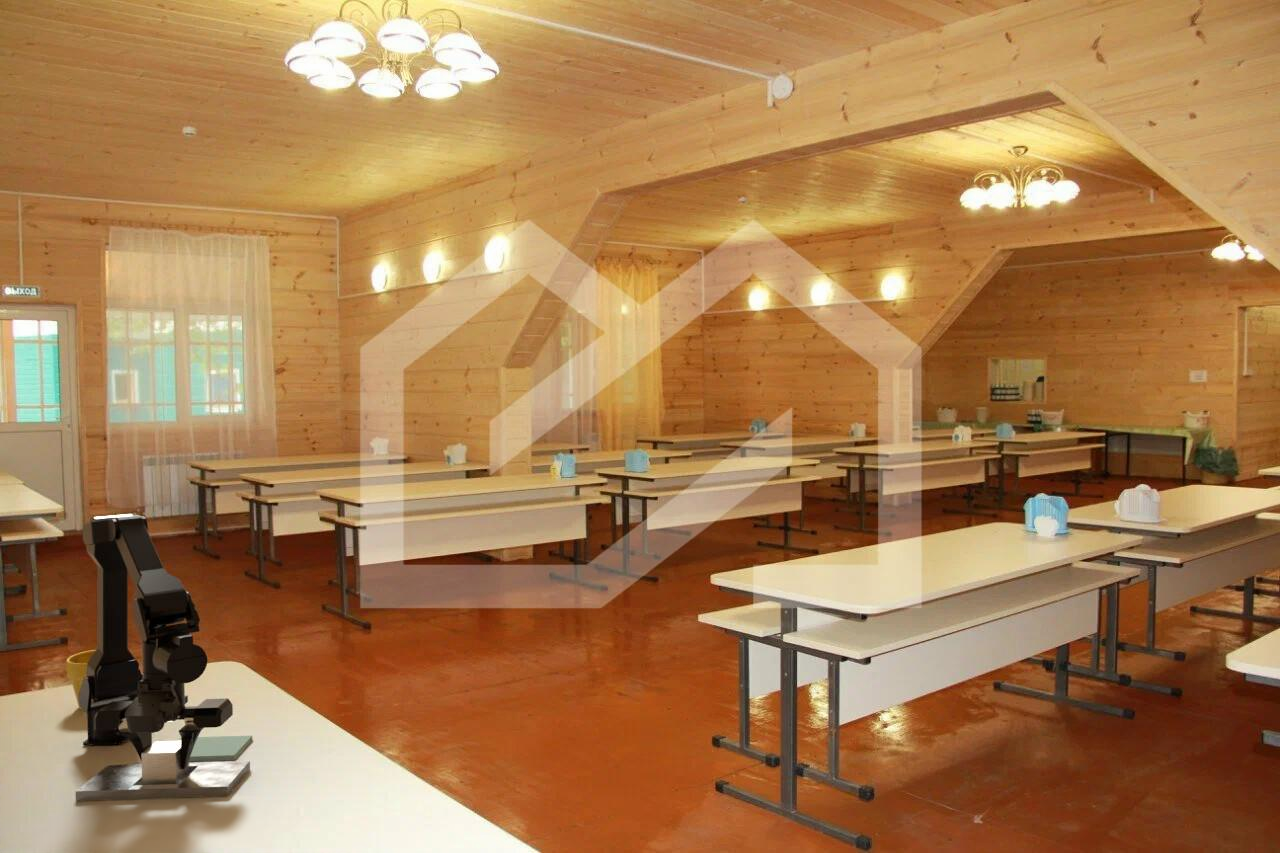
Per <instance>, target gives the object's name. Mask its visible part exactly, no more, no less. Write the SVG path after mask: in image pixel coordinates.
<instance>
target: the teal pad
mask: <svg viewBox="0 0 1280 853" xmlns="http://www.w3.org/2000/svg"><path fill="white" fill-rule="evenodd" d="M177 741H181V737H180V738H179V739H178V740H177ZM252 741H253V735H229V736H228V735H227V736H225V735H224V736H223V735H222V736H221V735H220V736H198V738H197V740H196V742H195V745H194V748H193V750H192V753H191V756H190V758H189V762H217V761H236V759H237V758H238V757H239V756H240V754H241V753H242V752H243V751H244V750H245V749H246V748H247V746H248V745H249V744H250V743H251V742H252Z"/></svg>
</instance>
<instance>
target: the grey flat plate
mask: <svg viewBox="0 0 1280 853" xmlns="http://www.w3.org/2000/svg"><path fill="white" fill-rule="evenodd" d="M250 771H251V760H225V761H192V762H189V776H188V777H187V778H186V779H185V780H184V781H183V782H182V783H181V784H164V785H142V763H138V764H137V763H132V764H131V763H128V764H107V765H106V766H105V767H104V768H102V769H101V770H100V771H99V772H97V773H96V774H94V776H92V777H91V778H90V779H89V780H88V781H87V782H85V783H84V784H83V785H81V786H80V787H79V788H78V789H76V790H75V802H89V801H90V802H93V801H94V802H96V801H119V800H120V801H126V800H127V801H128V800H152V799H155V800H156V799H158V800H159V799H179V798H180V799H184V798H185V799H186V798H189V799H190V798H217V797H219V798H220V797H229V796H230V794H232V793H233V790H234V789H236V787H238V785H239V783H240V782H242V780H243V779H244V778H245V777H246V775H248V773H249V772H250Z"/></svg>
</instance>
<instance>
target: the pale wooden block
mask: <svg viewBox="0 0 1280 853" xmlns="http://www.w3.org/2000/svg"><path fill="white" fill-rule="evenodd" d="M141 756H142V762H141V764H142V785H164V784H181V783H182V782H183V781H184V780H185V779H186V778H187V777H188V776H189V763H190V761H188V764H187V766H186V768H185V769H181V762H180V757H181V741H178V740H164V741H163V740H160V741H159V740H158V741H154V742H152V745H151V746H150V747H149V748H147V749H146V750H145V751H144V752H143V753H141Z"/></svg>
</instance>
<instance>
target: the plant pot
mask: <svg viewBox="0 0 1280 853" xmlns="http://www.w3.org/2000/svg"><path fill="white" fill-rule="evenodd" d="M96 650H97V649H91V650H85V651H81V652H78V653H75V654H73V655H70V656H69V657H68V658H67V659H66V661H65V664H66V666H65V667H66V668H65V669H66V678H68V679H70V681H71V685H72V687H73V692H74V694H75V698H76V702H77V705H78V708H79V709H80V710H82V711H84V710H83V709H82V708H81V707H80V706H79V699H78V693H79V690H80V688H81V685H82V682H83V679H84V677H86V672H87V663H88V662H89V660H90V659H91V657H92V656H93V654H94V653H95V651H96Z"/></svg>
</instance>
